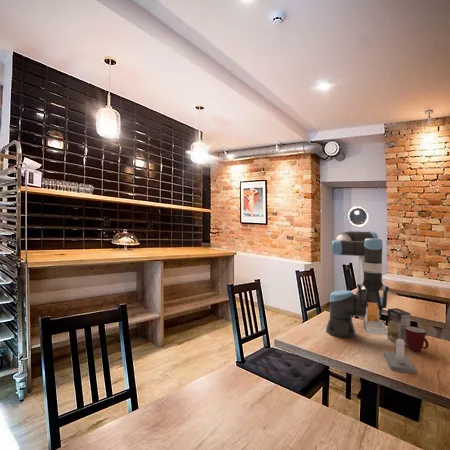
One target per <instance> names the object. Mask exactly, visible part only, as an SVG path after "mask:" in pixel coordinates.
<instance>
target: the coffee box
mask: <svg viewBox="0 0 450 450" xmlns="http://www.w3.org/2000/svg"><path fill="white" fill-rule="evenodd" d="M411 316H412V315H411V313H410V312H408V311H406V310H404V309H401V308H398V307H397V308H394V307H393V308H388V309H387V326H386V328H387V335H386V337H387V339H388V340H390V341H392V342H394V343H395V344H396V340H397V339H402V340H404V342H405V346H407V345H408V344H407V339H406V327H411V319H412V318H411Z"/></svg>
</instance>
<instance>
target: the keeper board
mask: <svg viewBox="0 0 450 450" xmlns="http://www.w3.org/2000/svg"><path fill="white" fill-rule="evenodd" d="M395 344H396V345H395V348H396V349H395V352H392V351H391V352H390V351H383V357H384V358H385V361H386V363H387V365H388V367H389V369H390V370H391V371H397V372H404V373H411V374H416V368H415V367H414V365H413V363H412V362H411V360H410V359H409V357H408V356H407V354H405V346H406V345H405V342H404V340H402V339H397V340H396V343H395Z"/></svg>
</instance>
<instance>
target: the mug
mask: <svg viewBox="0 0 450 450" xmlns="http://www.w3.org/2000/svg"><path fill="white" fill-rule="evenodd" d="M406 339H407V344H406V345H407V346H408V348H409V350H410V351H413V352H418V353H419V352H421V350H422V349H424V350H425V349H428V348H429V346H430V344H429V341H428V339H427V338H426V330H424V329H423V328H419V327H417V326H410V327H406ZM424 343H425V344H424ZM424 345H425V346H424Z"/></svg>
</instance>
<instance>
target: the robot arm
mask: <svg viewBox="0 0 450 450" xmlns="http://www.w3.org/2000/svg"><path fill="white" fill-rule="evenodd" d="M383 247H384V246H383V240H382V239H381V238H379V235H378V233H377V232H375V231H353V230H352V231H351V230H348V231H344V232H343V231H342V232H341V233H339V234H337V235H336V236H335V238H334V240H332V242H331V254H332V255H335V256H354V257H358V283H357V284H356V287H357V289H358V290H357V291H356V292H355V293H353V291H352V290H348V289H339V290H334V291H331V293H330V297H329V318H328V321H327V325H326V328H325V329H326V330H325V332H326V333H327V334H329V335H330V336H333V337H336V338H341V339H342V338H343V339H346V338H347V339H349V338H353V337H355V336H356V329H355V326H354V322H353V316H354V317H360V318H364V320H367V321H368V307H367V302H370V303H377V305H378V322H380V318H381V317H382V314H383V309H386V308H387V303H388V302H387V301H388V291H389V289H390V287H389V286H388V285H385V284H384V283H383V273H382V272H383ZM381 289H382V291H383V292H382V296H380V290H381Z"/></svg>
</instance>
